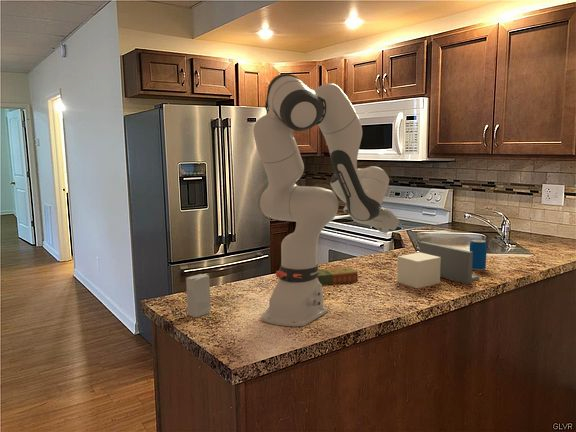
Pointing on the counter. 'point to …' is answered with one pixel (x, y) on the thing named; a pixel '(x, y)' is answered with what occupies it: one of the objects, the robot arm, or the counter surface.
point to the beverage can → (478, 254)
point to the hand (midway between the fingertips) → (384, 231)
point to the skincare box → (198, 295)
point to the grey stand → (451, 262)
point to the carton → (337, 275)
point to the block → (418, 270)
